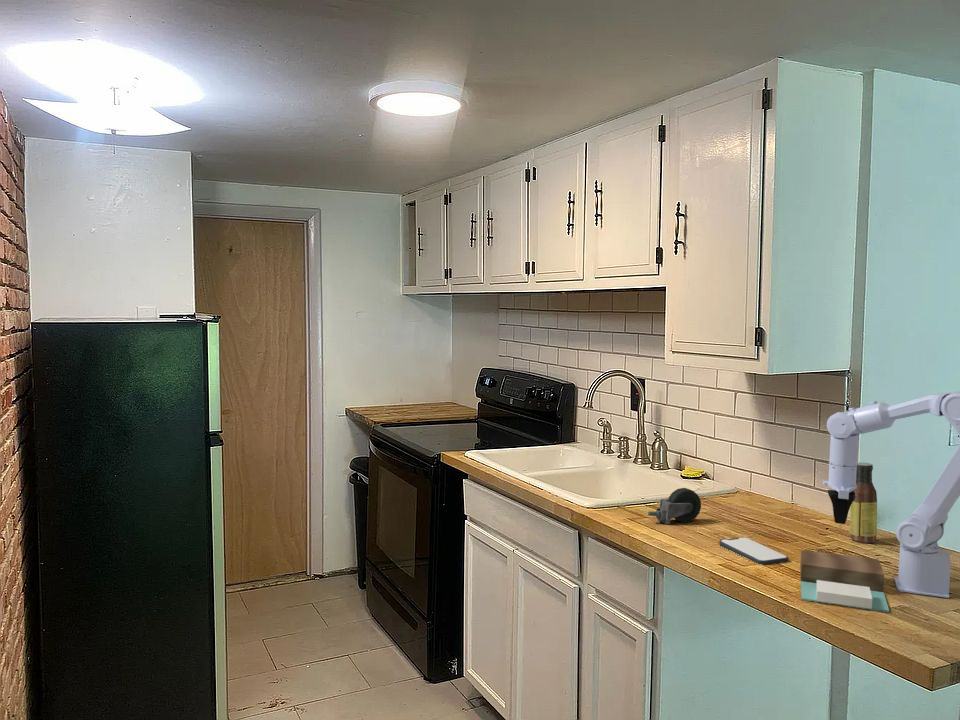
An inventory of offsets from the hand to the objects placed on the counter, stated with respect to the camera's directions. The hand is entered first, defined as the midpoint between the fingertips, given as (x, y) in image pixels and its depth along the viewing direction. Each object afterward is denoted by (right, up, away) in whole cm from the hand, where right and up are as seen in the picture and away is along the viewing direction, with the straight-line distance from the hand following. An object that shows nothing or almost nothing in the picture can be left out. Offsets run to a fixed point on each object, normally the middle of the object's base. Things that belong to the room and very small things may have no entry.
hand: (839, 522), depth 180 cm
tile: (-8, -10, -20) cm, 23 cm away
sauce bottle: (+16, -9, +21) cm, 28 cm away
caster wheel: (-29, -7, +36) cm, 47 cm away
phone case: (-16, -10, +10) cm, 22 cm away
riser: (-3, -11, -7) cm, 14 cm away
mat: (-7, -12, -18) cm, 22 cm away
